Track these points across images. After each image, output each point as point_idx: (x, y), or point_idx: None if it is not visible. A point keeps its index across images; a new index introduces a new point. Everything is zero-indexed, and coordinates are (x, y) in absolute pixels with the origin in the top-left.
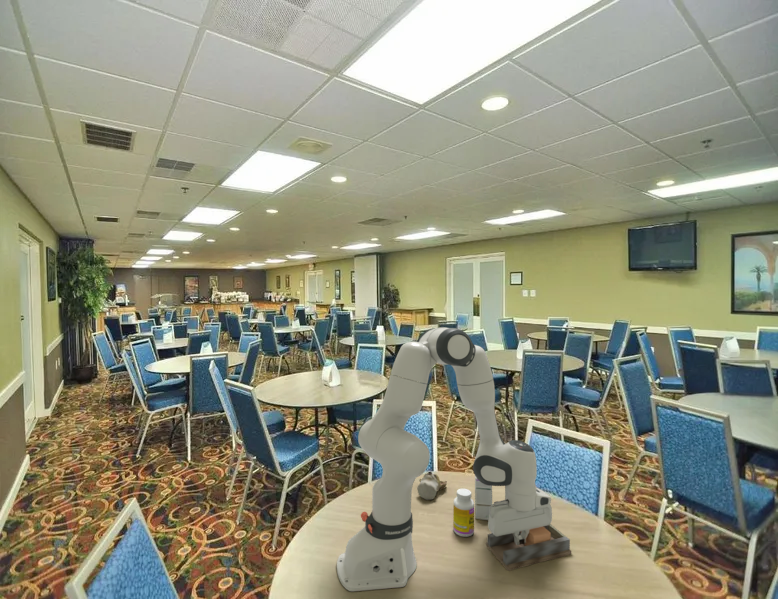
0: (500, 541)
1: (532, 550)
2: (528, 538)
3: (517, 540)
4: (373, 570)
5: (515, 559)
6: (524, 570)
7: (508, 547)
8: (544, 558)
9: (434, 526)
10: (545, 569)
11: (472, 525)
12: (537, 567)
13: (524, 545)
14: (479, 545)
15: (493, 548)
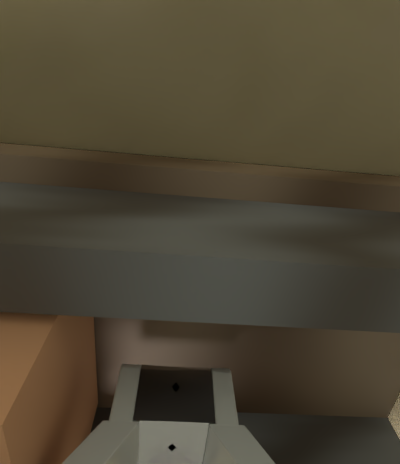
0: (302, 441)
1: (152, 237)
2: (61, 406)
3: (236, 419)
4: None
5: (396, 227)
6: (329, 119)
7: (259, 376)
8: (13, 152)
9: None
10: (100, 31)
11: None
12: (166, 98)
13: (103, 355)
14: None
15: (380, 401)
